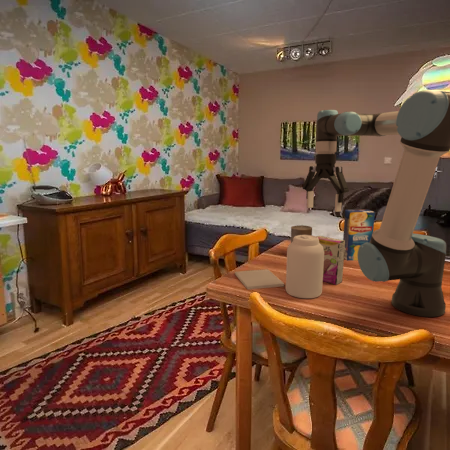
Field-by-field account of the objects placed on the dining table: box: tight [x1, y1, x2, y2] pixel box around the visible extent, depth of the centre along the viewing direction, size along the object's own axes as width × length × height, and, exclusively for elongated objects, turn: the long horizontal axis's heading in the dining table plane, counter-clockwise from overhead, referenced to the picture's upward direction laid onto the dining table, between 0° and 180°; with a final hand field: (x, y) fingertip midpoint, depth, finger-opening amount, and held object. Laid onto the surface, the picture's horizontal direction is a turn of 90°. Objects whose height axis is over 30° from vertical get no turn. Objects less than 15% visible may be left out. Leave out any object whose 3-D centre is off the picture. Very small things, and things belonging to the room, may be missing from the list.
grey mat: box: [234, 268, 285, 290], centre depth 141 cm, size 17×14×1 cm
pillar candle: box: [290, 224, 313, 243], centre depth 172 cm, size 10×10×15 cm
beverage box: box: [342, 209, 376, 262], centre depth 168 cm, size 7×11×22 cm, turn 91°
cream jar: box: [285, 234, 324, 299], centre depth 127 cm, size 12×12×20 cm
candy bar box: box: [316, 235, 345, 286], centre depth 140 cm, size 11×5×16 cm, turn 47°
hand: (323, 209), depth 143 cm, fingers open, 13 cm apart
